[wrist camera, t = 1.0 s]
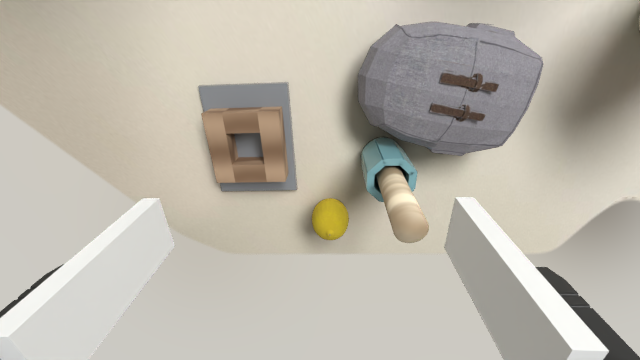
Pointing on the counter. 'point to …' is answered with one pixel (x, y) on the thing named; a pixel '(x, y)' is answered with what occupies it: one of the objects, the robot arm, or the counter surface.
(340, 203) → the lemon
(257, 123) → the frame
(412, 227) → the dowel
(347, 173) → the counter surface
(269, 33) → the counter surface
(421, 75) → the grey rounded bag
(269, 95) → the tray
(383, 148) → the cup
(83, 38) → the counter surface
